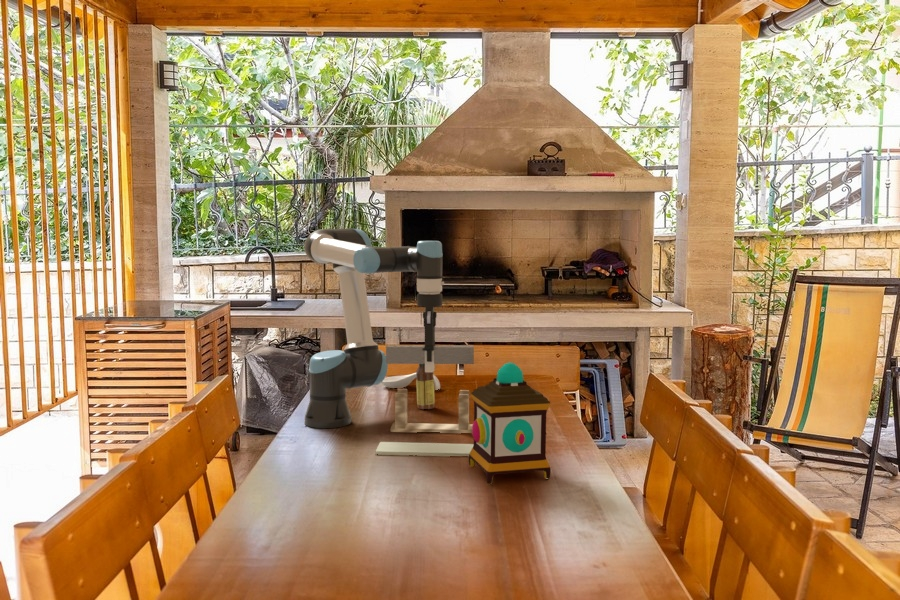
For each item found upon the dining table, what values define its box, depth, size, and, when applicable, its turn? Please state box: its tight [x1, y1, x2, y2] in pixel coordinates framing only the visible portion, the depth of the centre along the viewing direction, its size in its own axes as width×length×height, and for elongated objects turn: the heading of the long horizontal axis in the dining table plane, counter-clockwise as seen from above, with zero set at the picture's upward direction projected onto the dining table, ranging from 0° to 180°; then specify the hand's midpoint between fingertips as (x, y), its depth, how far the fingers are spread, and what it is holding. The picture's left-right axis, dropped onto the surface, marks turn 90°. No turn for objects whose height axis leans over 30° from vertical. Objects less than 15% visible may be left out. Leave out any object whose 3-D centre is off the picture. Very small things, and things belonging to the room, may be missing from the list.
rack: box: [390, 388, 473, 434], centre depth 270 cm, size 26×7×12 cm, turn 86°
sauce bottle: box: [415, 364, 436, 410], centre depth 300 cm, size 7×6×20 cm
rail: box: [385, 344, 475, 365], centre depth 253 cm, size 26×4×5 cm, turn 88°
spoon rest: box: [381, 372, 441, 391], centre depth 335 cm, size 24×12×7 cm, turn 77°
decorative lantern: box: [468, 361, 551, 486], centre depth 225 cm, size 20×20×30 cm
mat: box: [374, 441, 474, 457], centre depth 247 cm, size 28×10×1 cm, turn 86°
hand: (429, 370), depth 254 cm, fingers closed on rail, 4 cm apart
